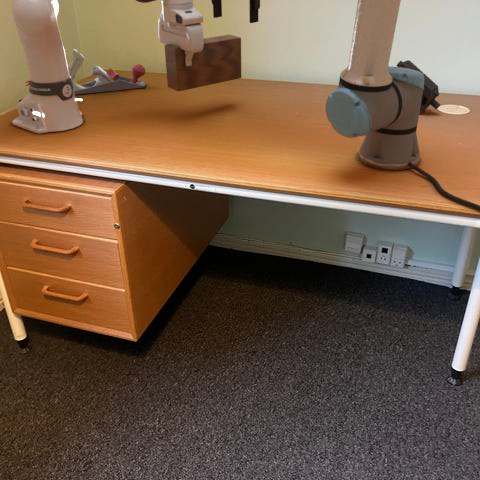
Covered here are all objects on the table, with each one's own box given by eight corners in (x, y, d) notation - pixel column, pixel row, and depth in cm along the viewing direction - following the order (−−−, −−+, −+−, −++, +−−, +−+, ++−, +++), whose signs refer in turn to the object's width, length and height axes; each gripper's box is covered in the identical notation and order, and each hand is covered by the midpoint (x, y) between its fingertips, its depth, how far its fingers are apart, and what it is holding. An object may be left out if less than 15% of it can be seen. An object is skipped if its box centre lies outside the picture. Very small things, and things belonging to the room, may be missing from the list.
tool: (378, 91, 179) (405, 54, 169) (421, 128, 175) (451, 93, 164) (370, 95, 176) (396, 58, 165) (413, 134, 171) (443, 98, 161)
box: (230, 74, 176) (229, 34, 169) (241, 78, 172) (241, 37, 165) (167, 87, 164) (164, 44, 158) (178, 91, 160) (174, 48, 153)
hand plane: (62, 90, 197) (53, 48, 189) (145, 82, 205) (140, 41, 197) (62, 96, 191) (54, 53, 184) (148, 87, 199) (143, 45, 191)
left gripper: (151, 10, 158) (155, 58, 166) (187, 19, 144) (190, 71, 152) (169, 8, 161) (173, 55, 169) (206, 17, 147) (208, 67, 155)
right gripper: (189, -70, 140) (194, 16, 151) (261, -69, 125) (261, 26, 137) (209, -71, 144) (212, 13, 156) (281, -70, 130) (279, 22, 141)
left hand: (181, 63), depth 160 cm, fingers closed on box, 6 cm apart
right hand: (235, 19), depth 146 cm, fingers open, 13 cm apart
